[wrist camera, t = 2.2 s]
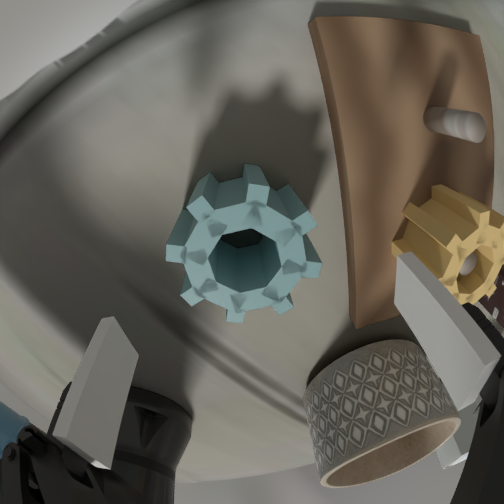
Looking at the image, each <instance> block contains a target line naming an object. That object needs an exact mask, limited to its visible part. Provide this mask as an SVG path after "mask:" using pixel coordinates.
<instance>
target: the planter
mask: <svg viewBox="0 0 504 504" xmlns="http://www.w3.org/2000/svg"><path fill="white" fill-rule="evenodd" d="M303 401H304V407H305V412H306V417H307V421H308V426H309V430H310V435H311V440H312V444H313V449H314V454H315V458H316V463H317V467H318V473H319V477H320V482H321V484H322V485H323V486H325V487H329V488H342V487H351V486H356V485H361V484H365V483H369V482H372V481H375V480H378V479H381V478H384V477H387V476H389V475H392V474H394V473H397V472H399V471H401V470H403V469H405V468H407V467H409V466H411V465H413V464H415V463H417V462H418V461H420V460H422V459H423V458H425V457H426V456H428V455H429V454H431V453H433V452H434V451H435V450H437V449H438V448H439V447H441V446H442V445H443V444H444V443H445V442H447V441H448V440H449V439H450V438H451V437H452V436H453V435H454V433H455V432H456V431H457V430H458V428H459V426H460V424H461V418H460V416H459V414H458V413H457V411H456V409H455V407H454V405H453V403H452V402H451V400H450V398H449V396H448V394H447V393H446V391H445V389H444V387H443V386H442V384H441V382H440V380H439V379H438V377H437V375H436V374H435V372H434V370H433V369H432V367H431V365H430V364H429V362H428V360H427V359H426V357H425V355H424V354H423V352H422V351H421V349H420V348H419V346H418V345H416V344H415V343H413V342H411V341H408V340H402V339H391V340H385V341H379V342H376V343H372V344H369V345H366V346H363V347H361V348H358V349H356V350H354V351H352V352H349V353H348V354H346V355H344V356H342V357H340V358H338V359H337V360H335V361H334V362H332V363H331V364H329V365H328V366H327V367H326V368H324V369H323V370H322V371H321V372H320V373H319V374H318V375H317V376H316V377H315V378H314V379H313V380H312V381H311V383H310V384H309V385H308V387H307V389H306V391H305V394H304V397H303Z"/></svg>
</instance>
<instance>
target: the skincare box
mask: <svg viewBox="0 0 504 504" xmlns="http://www.w3.org/2000/svg"><path fill="white" fill-rule="evenodd" d="M442 386H443V387H444V389H445V391H446V393H447V394H448V396H449V398H450V400H451V402H452V403H453V405H454V407H455V409H456V411H457V413H458V414H459V416H460V418H461V424H460V426H459V428H458V430H457V431H456V432H455V433H454V435H453V436H452V437H451V438H450V439H449V440H448V441H447V442H445V443H444V444H443V445H442V446H441V447H439V448H438V449H437V450H436V452H437V454H438V457H439V460H440V463H441V466H442V469H445V468H448V467H450V466H452V465H455V464H457V463H459V462H461V461H463V460H465V459H467V456H468V453H469V450H470V446H471V443H472V439H473V435H474V431H475V427H476V423H477V418H478V413H479V411H478V412H477V414H476V415H473V414H474V411H475V409H476V408H477V407H478V406H477V404H476V402H475V401H474V403H472V404H470V405H468V406H467V407H465V408H463V409H461V410H459V411H458V410H457V408H456V406H455V404H454V402H453V400H452V398H451V397H450V395H449V393H448V391H447V389H446V387H445V386H444V384H443V383H442Z"/></svg>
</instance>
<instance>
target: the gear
mask: <svg viewBox="0 0 504 504" xmlns="http://www.w3.org/2000/svg"><path fill="white" fill-rule="evenodd" d="M186 208H187V209H188V210H184V209H182V211H181V213H180V215H179V218H178V220H177V222H176V224H175V226H174V228H173V231H172V233H171V235H170V237H169V240H168V242H167V244H166V261H169V262H177V263H183V264H184V267H185V269H186V273H185V277H184V282H183V286H182V290H181V294H180V296H182V297H183V298H184V299H185V300H186V301H187V302H188V303H189V304H190V305H191V306H193V305H195V304H197V303H198V302H200V301H201V300H203V299H206V300H208V301H210V302H212V303H214V304H217V305H219V306H221V307H223V308H226V322H235V323H243V319H244V314H245V311H249V310H253V309H258V308H262V307H267V306H272V307H273V308H274V309H275V311H276V312H277V313H278V314H279V315H281V314H283V313H284V312H286V311H288V310H289V309H291V308H293V307H294V306H293V302H292V299H291V295H290V291H291V290H292V288H293V287H294V286H295V285H296V283H297V282H298V281H299V280H300V279H301V277H307V278H317V279H318V276H319V272H320V269H321V266H322V261H321V260H320V258H319V256H318V254H317V252H316V250H315V249H314V247H313V245H312V243H311V241H310V240H309V238H308V236H307V234H306V233H307V232H309V231H310V230H312V229H313V228H315V227H316V226H318V225H317V224H316V222H315V221H314V219H313V218H312V216H311V214H310V213H309V211H308V210H307V208H306V207H305V206H304V204H303V203H302V202H301V200H300V199H299V197H298V196H297V195H296V193H295V192H294V191H293V189H292V188H291V187H290V185H289V184H287V185H285V186H284V187H282V188H281V189H279V190H278V191H275V190H274V189H272V188H270V186H269V184H268V182H267V180H266V178H265V176H264V174H263V172H262V170H261V168H260V166H258V165H252V164H245V163H244V168H243V174H242V177H241V178H237V179H233V180H229V181H225V182H221V183H219V182H218V181H217V180H216V179H215V177H214V176H213V175H212V174H211V172H209V173H208V174H207V175H205V176H204V177H203V178H202V179H200V180H199V181H198V183H197V185H196V187H195V189H194V191H193V193H192V195H191V198H190V200H189V202H188V204H187V206H186ZM249 228H252V229H254V230H256V231H258V232H260V233H261V234H263V235H264V236H263V238H262V239H261V240H260V242H259V243H258V244H256V245H252V246H247V247H243V248H239V249H237V248H235V247H233V246H231V245H229V244H228V243H226V242H224V241H222V240H220V237H221V236H222V235H224V234H228V233H232V232H237V231H241V230H245V229H249Z"/></svg>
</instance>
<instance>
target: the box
mask: <svg viewBox="0 0 504 504" xmlns="http://www.w3.org/2000/svg"><path fill="white" fill-rule="evenodd" d="M494 285H495V286H496V287H497V288H496V290H495V291H494V292H493V294H492V295H491V296H490V298H489V297H488V296H487V295H486V294H485V295H484V296H483V297H481V298H480V299H479V300H478V301H479V302H480V303H481V304H482V305H483V306H484V308H485V309H486V310H487V311H488V312H489V313H490V314H491V315H492V316H493V317H494V318H495V320H496V321H497V322H498V323H499V324H500V325H501V326H502V327H503V328H504V264H503V265H502V267H501V269H500V271H499V273H498V275H497V277H496V279H495V282H494Z"/></svg>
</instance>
